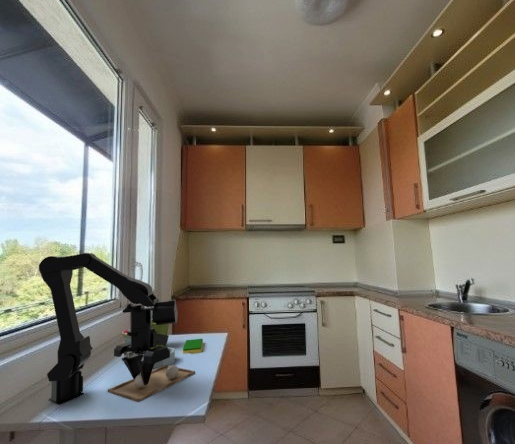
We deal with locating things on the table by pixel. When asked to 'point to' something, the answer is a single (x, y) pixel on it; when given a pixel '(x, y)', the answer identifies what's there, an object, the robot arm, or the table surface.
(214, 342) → the table surface
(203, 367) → the table surface
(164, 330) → the plant pot
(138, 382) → the pebble
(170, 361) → the bowl
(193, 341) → the dish sponge
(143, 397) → the tray
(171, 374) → the pebble
